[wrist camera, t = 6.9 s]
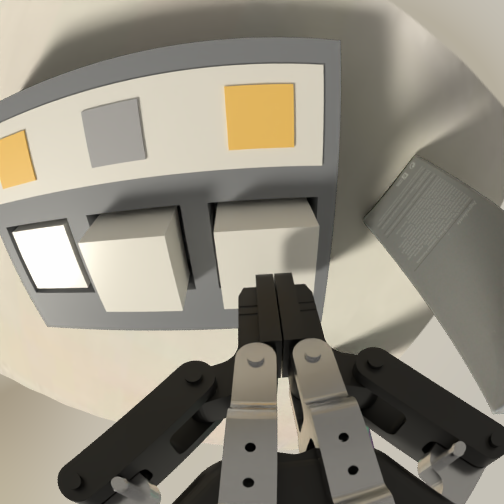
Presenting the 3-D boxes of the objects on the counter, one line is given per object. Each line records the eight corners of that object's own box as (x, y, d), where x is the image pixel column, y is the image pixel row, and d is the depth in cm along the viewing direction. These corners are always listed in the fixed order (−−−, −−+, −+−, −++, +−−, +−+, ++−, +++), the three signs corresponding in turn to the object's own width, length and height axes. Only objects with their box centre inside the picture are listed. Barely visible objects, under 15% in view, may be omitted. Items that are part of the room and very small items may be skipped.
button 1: (225, 272, 18) (224, 309, 15) (217, 201, 15) (213, 232, 13) (302, 267, 18) (312, 303, 15) (305, 197, 15) (319, 226, 13)
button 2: (55, 262, 19) (37, 288, 17) (35, 209, 17) (12, 232, 14) (103, 259, 19) (87, 287, 17) (84, 201, 17) (63, 225, 14)
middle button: (121, 277, 17) (106, 311, 15) (100, 213, 15) (78, 243, 13) (189, 274, 18) (183, 310, 15) (176, 205, 15) (164, 235, 13)
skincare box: (358, 218, 21) (471, 428, 7) (420, 142, 17) (606, 295, 4) (421, 267, 23) (510, 425, 10) (474, 207, 20) (595, 344, 7)
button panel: (70, 285, 23) (46, 328, 19) (13, 102, 14) (-36, 120, 10) (307, 274, 23) (321, 324, 19) (313, 47, 14) (342, 40, 10)
